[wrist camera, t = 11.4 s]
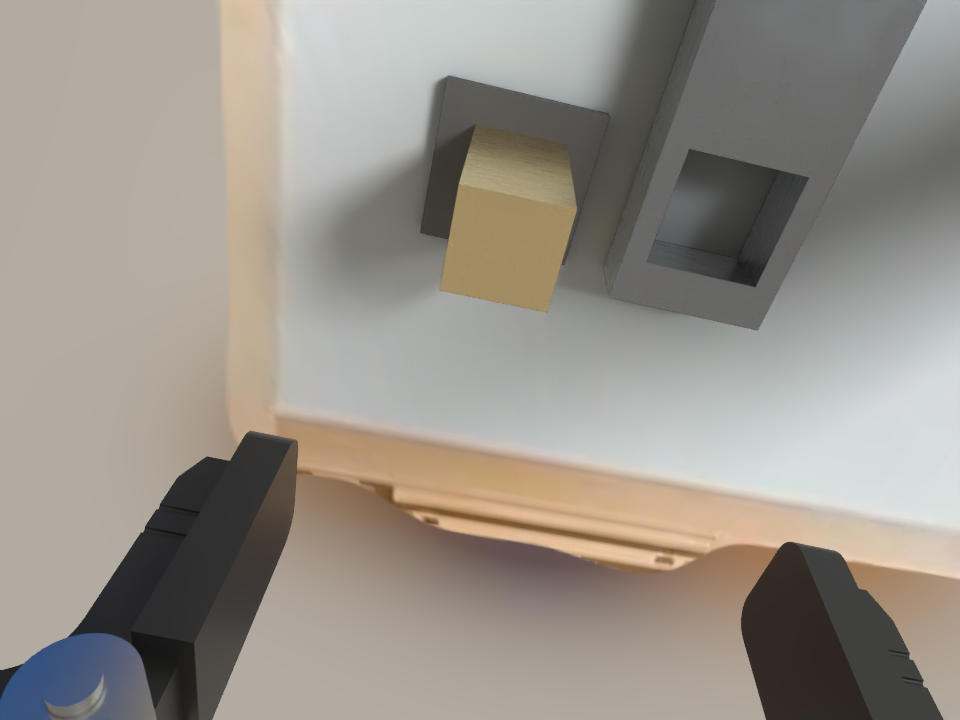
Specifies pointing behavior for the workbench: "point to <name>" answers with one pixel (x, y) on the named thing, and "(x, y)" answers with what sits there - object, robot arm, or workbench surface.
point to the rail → (754, 140)
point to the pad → (512, 114)
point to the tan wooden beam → (510, 220)
